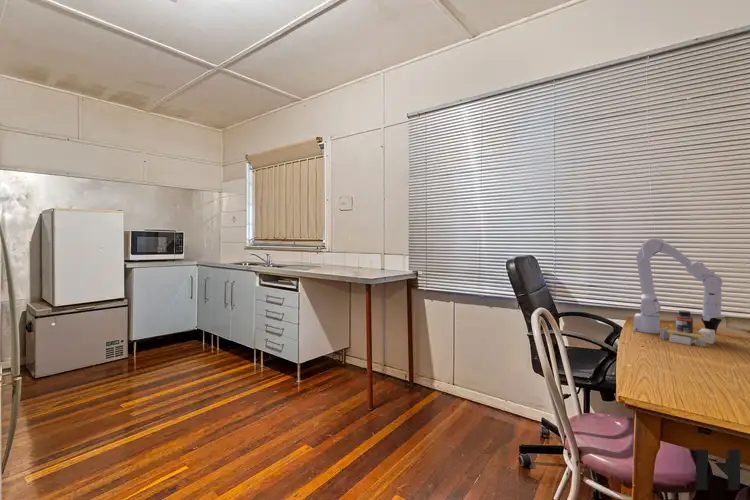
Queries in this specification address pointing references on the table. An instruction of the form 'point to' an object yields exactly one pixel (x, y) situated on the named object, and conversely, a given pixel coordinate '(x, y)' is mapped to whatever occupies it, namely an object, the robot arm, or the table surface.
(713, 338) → the white l-shaped block
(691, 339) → the heatsink
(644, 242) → the robot arm
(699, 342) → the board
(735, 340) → the table surface
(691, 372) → the table surface
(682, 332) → the strap
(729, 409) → the table surface
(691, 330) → the supplement bottle
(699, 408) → the table surface
